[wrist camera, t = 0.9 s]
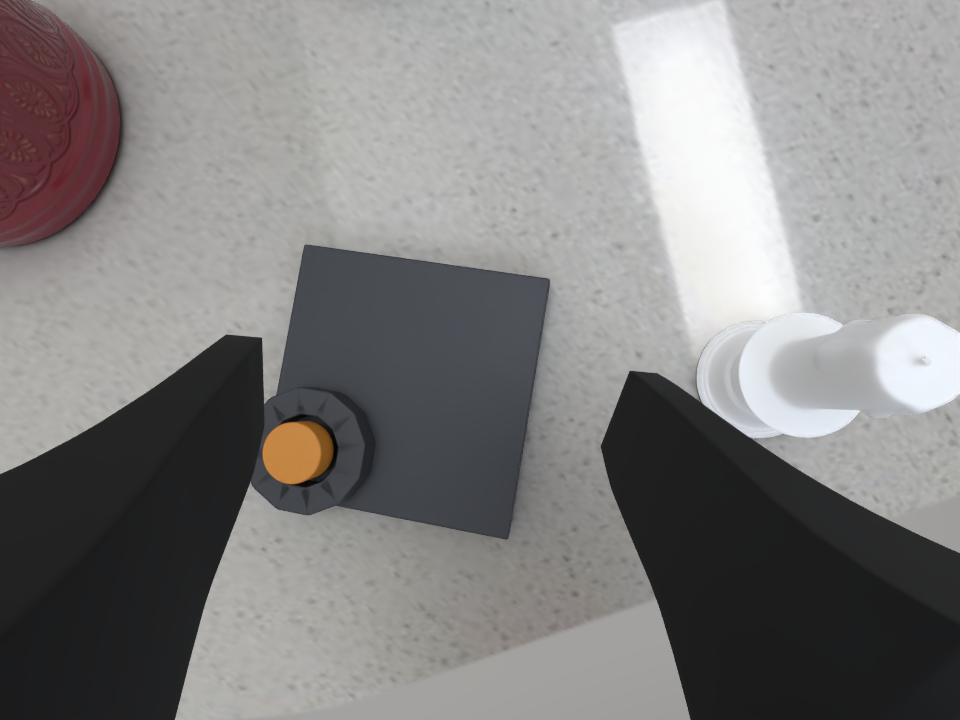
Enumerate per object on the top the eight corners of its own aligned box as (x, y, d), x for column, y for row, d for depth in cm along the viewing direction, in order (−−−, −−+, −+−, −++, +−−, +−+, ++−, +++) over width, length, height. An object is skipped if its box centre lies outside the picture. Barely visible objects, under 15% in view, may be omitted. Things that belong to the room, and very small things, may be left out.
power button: (328, 484, 25) (314, 489, 23) (273, 473, 25) (256, 478, 24) (339, 426, 25) (325, 427, 23) (284, 416, 25) (267, 417, 24)
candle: (684, 422, 26) (806, 441, 14) (709, 310, 26) (850, 235, 14) (804, 450, 25) (1039, 495, 13) (828, 335, 25) (1080, 279, 14)
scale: (508, 538, 26) (504, 555, 23) (266, 490, 28) (233, 501, 25) (549, 284, 27) (551, 270, 24) (310, 250, 28) (283, 233, 25)
